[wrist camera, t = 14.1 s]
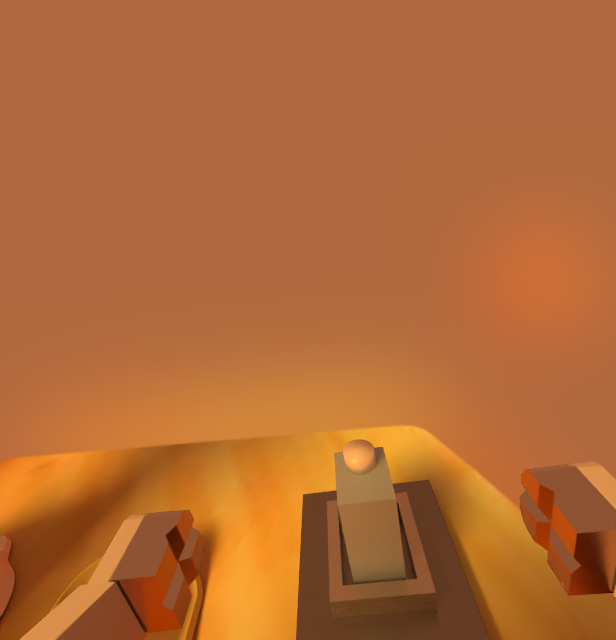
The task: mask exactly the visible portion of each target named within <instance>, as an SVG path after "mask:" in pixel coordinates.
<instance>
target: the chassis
mask: <svg viewBox="0 0 616 640" xmlns="http://www.w3.org/2000/svg"><path fill="white" fill-rule="evenodd" d="M393 488H394V492H395V496H396V502H397V510H398V518H399V526H400V534H401V542H402V549H403V557H404V565H405V573H406V580H398V581H387V582H377V583H366V584H355V585H354V582H353V577H352V572H351V568H350V563H349V558H348V553H347V548H346V543H345V539H344V534H343V529H342V524H341V519H340V515H339V510H338V504H337V491H330V492H321V493H313V494H304V495H303V508H302V529H301V550H300V570H299V591H298V612H297V633H296V640H490V639H489V637H488V634H487V631H486V629H485V626H484V623H483V621H482V618H481V616H480V613H479V610H478V608H477V605H476V603H475V600H474V597H473V595H472V592H471V589H470V587H469V584H468V582H467V579H466V576H465V574H464V571H463V569H462V566H461V563H460V561H459V558H458V556H457V553H456V550H455V548H454V545H453V542H452V540H451V537H450V535H449V532H448V529H447V527H446V524H445V522H444V519H443V516H442V514H441V511H440V508H439V506H438V503H437V501H436V498H435V495H434V493H433V490H432V488H431V485H430V482H429V480H423V481H415V482H406V483H398V484H393Z"/></svg>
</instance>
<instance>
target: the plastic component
mask: <svg viewBox="0 0 616 640" xmlns="http://www.w3.org/2000/svg"><path fill="white" fill-rule="evenodd" d="M103 556H104V555H103ZM103 556H102V557H100V558H99V559H97V560H96V561H94V562H93V563H91V564H90V565H88V566H87V567H86V568H85V569H84V570H82V571H81V572H80V573H79V574H78V575H77V576H76V577H75V578H74V580H73V581H72V582H71V583H70V584H69V585H68V586H67V587H66V589H65V590H64V591H63V592H62V594H61V595H60V596H59V598H58V599H57V601H56V602H55V603H54V605H53V606H52V608H51V610H50V611H49V613H50V612H51V611H52V610H53V609H54V608H56V607H57V606H58V605H59V604H60V603H61V602H62V601H63V600H65V599H66V598H67V597H68V596H69V595H70V594H71V593H72V592H74V591H75V590H76V589H77V588H78V587H79V586H80V585H84V584H87V583H88V582H89V580H90V578H91V576H92V575H93V573H94V571H95V570H96V568H97V566H98V564H99V563H100V561H101V559H102V558H103ZM189 587H190V590H191V593H192V598H191V602H190V605H189V608H188V611H187V615H186V618H185V621H184V624H183V628H182V629H177V630H169V631H160V632H152V633H145V634H146V637H145V638H144V640H192V638H193V634H194V630H195V626H196V622H197V619H198V615H199V611H200V607H201V603H202V599H203V586H202V580H201V577H200V575H198V576H197V578H196V579H195V580H194V581H193V582H192V583H191V584H190V586H189ZM49 613H48V614H49ZM48 614H47V615H48Z"/></svg>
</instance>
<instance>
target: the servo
mask: <svg viewBox="0 0 616 640" xmlns="http://www.w3.org/2000/svg"><path fill="white" fill-rule="evenodd" d="M334 456H335V472H336V488H337V504H338V510H339V515H340V519H341V524H342V529H343V534H344V539H345V543H346V548H347V553H348V558H349V563H350V568H351V572H352V577H353V582H354V585H355V584H366V583H377V582H387V581H398V580H406V573H405V565H404V557H403V549H402V542H401V534H400V526H399V518H398V510H397V502H396V496H395V492H394V488H393V484H392V480H391V477H390V473H389V469H388V465H387V461H386V457H385V453H384V449H383V447H377V448H374V447H373V445H372V444H371V443H370V442H368V441H365V440H354V441H351V442H349V443H348V444H346V445H345V447H344V449H343V452H338V453H334Z"/></svg>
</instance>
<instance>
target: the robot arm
mask: <svg viewBox="0 0 616 640" xmlns="http://www.w3.org/2000/svg"><path fill="white" fill-rule="evenodd" d="M521 483H522V485H523V486H524V488H525V489H526V491H525V492H524V493H523V494H522V495H521V496H520V510H521V513H522V517H523V521H524V523H525V525H526V527H527V529H528V531H529V533H530V535H531V536H532V538H533V540H534V541H535V542H536V543H537V544H539V545H540V546H542V547H543V548H545V549H546V550H548V561H547V562H548V564H549V565H550V567H551V569H552V570H553V572H554V573H555V575H556V577H557V578H558V580H559V581H560V583H561V585H562V586H563V588H564V589H565V591H566V592H567V594H568V595H585V594H603V593H614V594H613V596H615V597H616V479H615V478H613V476H612V475H610V473H608V472H607V471H606V470H605V469H604V468H603V467H602V466H601V465H600V464H598V463H596V462H594V461H592V462H584V463H576V464H570V465H566V464H565V465H558V466H550V467H542V468H535V469H527V470H524V471H523V473H522V474H521ZM193 521H194V518H193V516H192V514H191V512H190V510H181V511H169V512H158V513H149V514H138V515H130V516H129V517H128V518H127V519H125V520H124V521H123V523H122V525H121V527H120V528H119V530H118V532H117V533H116V535H115V537H114V539H113V540H112V542H111V544H110V545H109V547H108V549H107V551H106V552H105V554H104V556H103V558H102V559H101V561H100V563H99V564H98V566H97V568H96V570H95V571H94V573H93V575H92V576H91V578H90V580H89V582H88V583H87V584H84V585H80V586H79V587H78V588H77V589H76V590H75V591H74V592H72V593H71V594H70V595H69V596H68V597H67V598H66V599H65V600H63V601H62V602H61V603H60V604H59V605H58V606H57V607H56V608H54V609H53V610H52V611H51V612H50V613H49V614H48V615H47V616H45V617H44V618H43V619H42V620H41V621H40V622H39V623H38V624H36V625H35V626H34V627H33V628H32V629H31V630H30V631H29V632H27V633H26V634H25V635H24V636H23V637H22V638H21V639H20V640H144V638H145V637H146V634H145V633H152V632H160V631H169V630H177V629H182V628H183V624H184V621H185V618H186V615H187V611H188V608H189V605H190V602H191V598H192V593H191V590H190V587H189V586H190V584H191V583H192V582H193V581H194V580H195V579H196V578H197V576H198V575H199V572H200V568H201V565H202V558H203V543H202V538H201V535H200V533H199V532H198V531H197V530H195V529H194V528H192V524H193ZM10 550H11V541H10V540H9V539H8V538H7V537H6V536H0V617H1V615H2V613H3V612H4V610H5V608H6V606H7V604H8V602H9V599H10V597H11V594H12V591H13V588H14V582H15V574H14V570H13V568H12V566H11V565H10V563H9V561H8V557H9V553H10Z"/></svg>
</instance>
